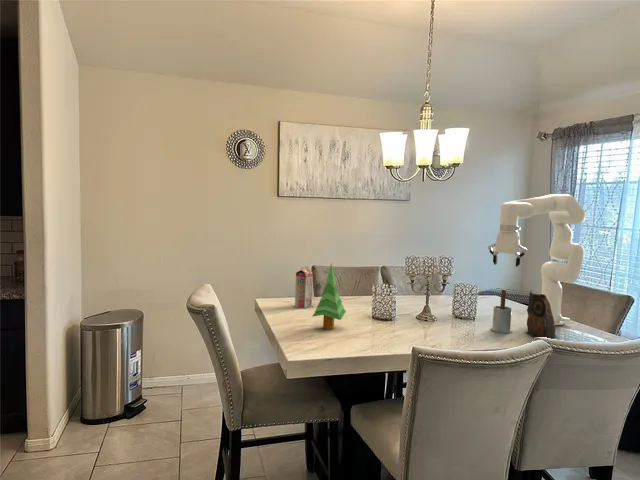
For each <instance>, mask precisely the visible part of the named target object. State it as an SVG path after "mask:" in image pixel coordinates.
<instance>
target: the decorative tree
mask: <svg viewBox="0 0 640 480" xmlns="http://www.w3.org/2000/svg"><path fill="white" fill-rule="evenodd" d="M336 283H337V280H336V277H335V273H334V267H333V263H330V266H329V270H328V273H327V277H326V281H325V285H324V289H323V291H322V295H321V297H320V300H319V303H318V304H317V307H316V308H315V311H314V313H313V314H312V317H317V316H323V318H322V319H323V322H322V327H323V328H322V329H323V330H326V331H331V330H334V328H335V319H336V320H338V321H342V319H343V318H344V315H345V314H346V312H347V311H346V309H345V306H344V304H343V301H342V299H341V296H340V294H339V290H338V287H337V285H336Z"/></svg>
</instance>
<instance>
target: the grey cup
mask: <svg viewBox="0 0 640 480" xmlns="http://www.w3.org/2000/svg"><path fill="white" fill-rule="evenodd" d="M492 308H493V310H492V323H491V330H492V331H493V332H495V333H501V334H510V333H511V328H512V314H513V308H511V307H509V306H505V309H500V305H494V306H493V307H492Z"/></svg>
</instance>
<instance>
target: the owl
mask: <svg viewBox="0 0 640 480" xmlns="http://www.w3.org/2000/svg"><path fill="white" fill-rule="evenodd" d="M526 312H527V319H526V328H527V331H526V334H527V335H529V336H531V337H532V338H535V337H547V338H550V339H552V338H554V337H556V325H555V323H554V318H553V314H552V311H551V306H550V303H549V301H548V299H547V298H546V296H545V295H544V294H542V292H541V293H540V292H537V291H534V290H530V291H529V296H528V305H527V308H526Z"/></svg>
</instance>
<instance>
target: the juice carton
mask: <svg viewBox="0 0 640 480" xmlns="http://www.w3.org/2000/svg"><path fill="white" fill-rule="evenodd" d="M313 280H314V273H313V271H312V270H311V269H309V266H308V265H306V266H301V267H300V270H298V271H296V272H295V289H294V307H296V308H300V309H307V308H311V307H312V306H313V305H312V304H313V282H314V281H313Z"/></svg>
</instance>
